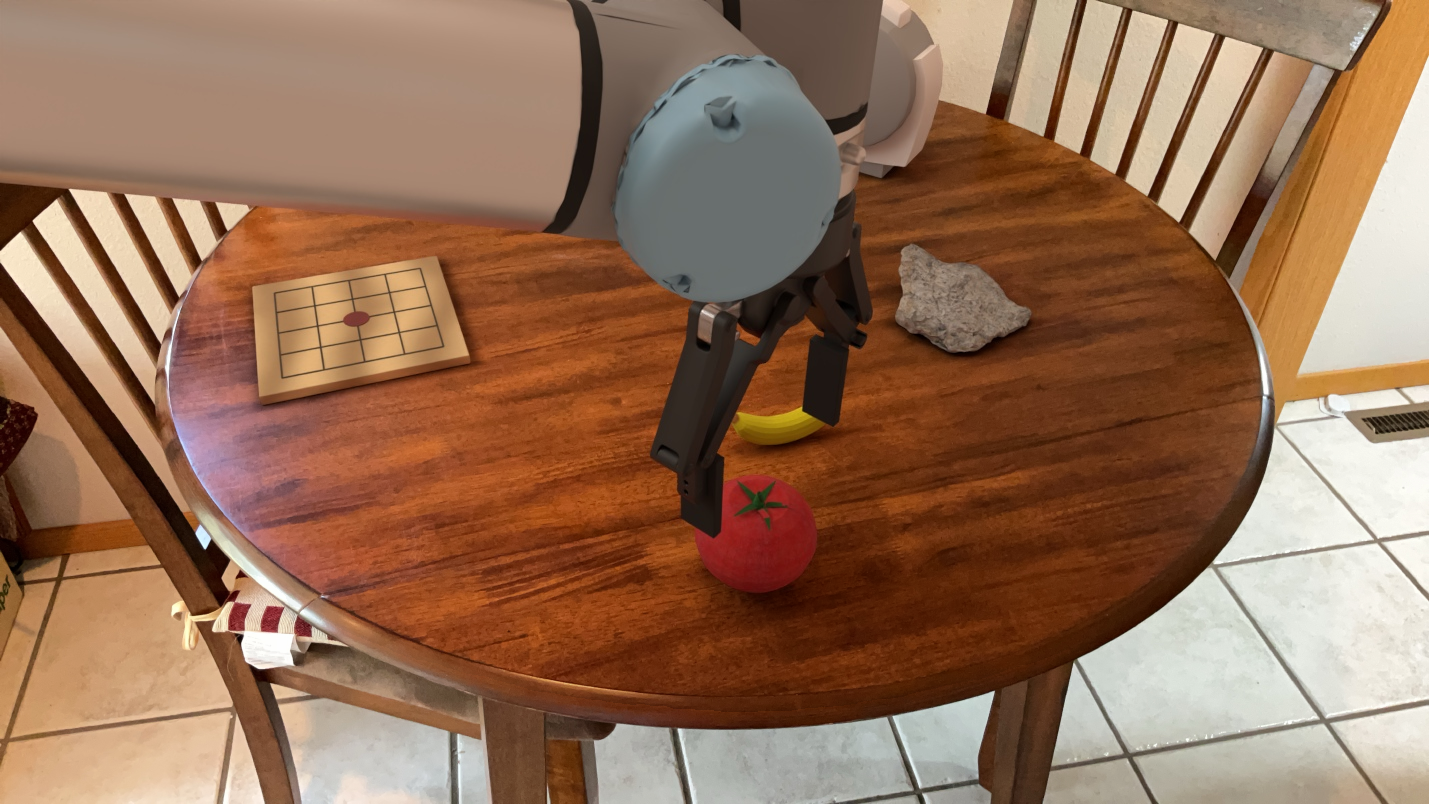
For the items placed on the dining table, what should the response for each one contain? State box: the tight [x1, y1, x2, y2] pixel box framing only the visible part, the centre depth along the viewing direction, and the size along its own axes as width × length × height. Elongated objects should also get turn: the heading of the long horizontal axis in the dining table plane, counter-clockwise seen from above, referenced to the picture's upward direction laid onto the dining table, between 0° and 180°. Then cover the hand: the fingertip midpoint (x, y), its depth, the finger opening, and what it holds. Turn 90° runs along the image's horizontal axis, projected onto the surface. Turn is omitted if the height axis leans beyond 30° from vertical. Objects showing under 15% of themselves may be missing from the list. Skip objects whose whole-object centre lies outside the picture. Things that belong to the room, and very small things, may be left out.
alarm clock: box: [859, 0, 944, 179], centre depth 117 cm, size 18×8×20 cm, turn 59°
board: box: [251, 255, 471, 406], centre depth 93 cm, size 18×18×1 cm
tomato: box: [694, 474, 818, 594], centre depth 70 cm, size 9×9×8 cm
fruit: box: [731, 406, 827, 446], centre depth 82 cm, size 10×2×5 cm, turn 110°
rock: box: [894, 243, 1032, 354], centre depth 98 cm, size 14×4×15 cm
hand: (764, 467), depth 66 cm, fingers open, 13 cm apart
